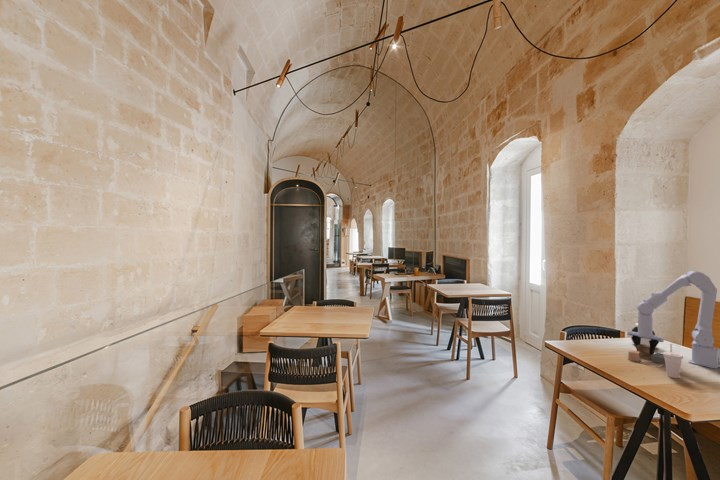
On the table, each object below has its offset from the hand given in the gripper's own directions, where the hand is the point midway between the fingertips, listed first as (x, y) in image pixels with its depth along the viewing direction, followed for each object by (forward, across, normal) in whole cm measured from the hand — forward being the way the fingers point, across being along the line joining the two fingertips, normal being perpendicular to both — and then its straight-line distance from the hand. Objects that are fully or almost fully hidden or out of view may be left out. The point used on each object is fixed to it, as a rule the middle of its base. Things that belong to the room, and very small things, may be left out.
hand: (645, 352), depth 174 cm
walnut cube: (+1, 0, 0) cm, 1 cm away
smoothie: (+2, -18, +22) cm, 28 cm away
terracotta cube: (+2, 0, +12) cm, 12 cm away
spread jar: (+2, +7, -17) cm, 18 cm away
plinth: (+2, -9, +5) cm, 10 cm away
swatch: (+1, -7, +12) cm, 14 cm away
